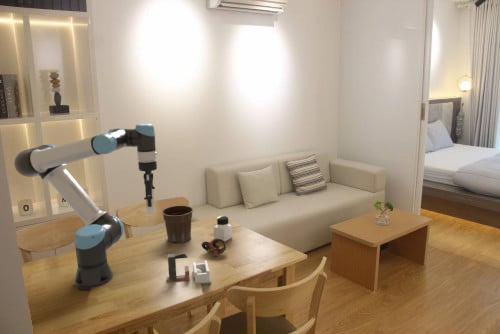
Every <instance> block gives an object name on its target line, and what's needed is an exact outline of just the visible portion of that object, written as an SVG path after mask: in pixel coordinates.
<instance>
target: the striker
mask: <svg viewBox="0 0 500 334" xmlns="http://www.w3.org/2000/svg"><path fill="white" fill-rule="evenodd" d="M175 256H176V253H170V254H169V253H168V254H167V266H168V276H166V282H167V283H169V282H171V283H172V282H177V281H178V282H179V281H185V282H190V281H191V279H190V278H191V277H190V267H189V265H185V266H184V274H183V275H177V266H176V265H177V263H176V259H175Z"/></svg>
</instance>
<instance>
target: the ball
mask: <svg viewBox="0 0 500 334" xmlns="http://www.w3.org/2000/svg"><path fill="white" fill-rule="evenodd" d="M198 273H202V271H201V270H200V269H197V274H198ZM192 277H193V278H194V279H195V273H194V270H193V269H192Z"/></svg>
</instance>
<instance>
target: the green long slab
mask: <svg viewBox="0 0 500 334" xmlns="http://www.w3.org/2000/svg"><path fill="white" fill-rule="evenodd" d="M197 269H200V270H201V271H202V273H198V274H197ZM193 270H194V273H195V278H194V283H195V284H200V285H201V286H208V285H211V284H212V281H211V276H210V268H209V265H208V261H207V260H204V262H200V263H196V261H193V262H192V271H193Z"/></svg>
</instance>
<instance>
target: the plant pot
mask: <svg viewBox="0 0 500 334" xmlns="http://www.w3.org/2000/svg"><path fill="white" fill-rule="evenodd" d="M193 211H194V208H193V207H191V206H189V205H172V206H168V207H166V208H164V209H162V211H161V214H162V217H163V220H164V226H165V230H166V235H167V240H168V242H170V243H173V244H174V243H176V244H183V243H185V242H188V241H189V240H190V239H191V238H192V218H193Z"/></svg>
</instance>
